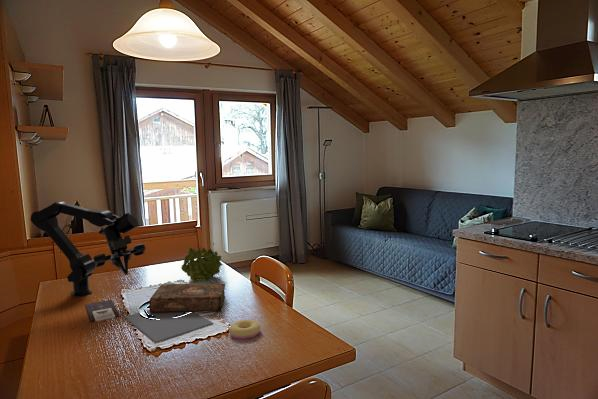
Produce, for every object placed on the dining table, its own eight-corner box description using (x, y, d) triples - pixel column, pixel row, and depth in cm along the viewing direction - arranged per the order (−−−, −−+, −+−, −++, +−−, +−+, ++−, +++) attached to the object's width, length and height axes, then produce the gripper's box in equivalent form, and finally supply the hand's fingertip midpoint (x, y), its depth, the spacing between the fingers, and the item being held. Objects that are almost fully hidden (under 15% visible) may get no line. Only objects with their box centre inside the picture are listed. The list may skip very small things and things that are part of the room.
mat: (124, 317, 144) (124, 316, 144) (177, 303, 158) (177, 302, 158) (155, 343, 125) (155, 341, 125) (213, 324, 139) (213, 322, 139)
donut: (227, 337, 134) (236, 345, 126) (224, 324, 134) (233, 331, 125) (255, 326, 138) (266, 333, 130) (252, 313, 138) (263, 319, 130)
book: (149, 314, 146) (220, 313, 148) (149, 299, 146) (220, 298, 147) (161, 297, 162) (225, 296, 164) (161, 284, 162) (225, 283, 164)
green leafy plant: (200, 261, 199) (222, 241, 194) (210, 289, 191) (234, 269, 186) (171, 257, 184) (194, 235, 179) (181, 286, 176) (205, 265, 171)
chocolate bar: (111, 299, 160) (119, 315, 145) (111, 301, 160) (119, 317, 145) (85, 304, 156) (91, 321, 141) (85, 306, 156) (91, 323, 141)
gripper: (89, 237, 152) (101, 275, 148) (140, 224, 163) (153, 259, 158) (89, 248, 161) (100, 285, 156) (137, 236, 171) (149, 270, 166)
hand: (126, 274), depth 159 cm, fingers closed
